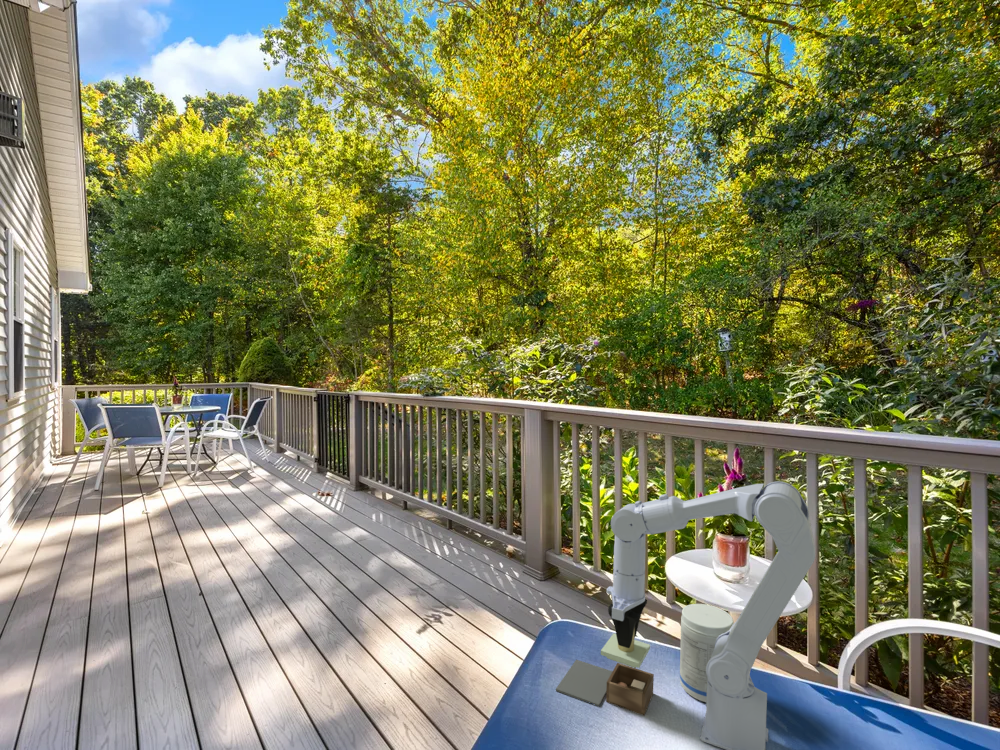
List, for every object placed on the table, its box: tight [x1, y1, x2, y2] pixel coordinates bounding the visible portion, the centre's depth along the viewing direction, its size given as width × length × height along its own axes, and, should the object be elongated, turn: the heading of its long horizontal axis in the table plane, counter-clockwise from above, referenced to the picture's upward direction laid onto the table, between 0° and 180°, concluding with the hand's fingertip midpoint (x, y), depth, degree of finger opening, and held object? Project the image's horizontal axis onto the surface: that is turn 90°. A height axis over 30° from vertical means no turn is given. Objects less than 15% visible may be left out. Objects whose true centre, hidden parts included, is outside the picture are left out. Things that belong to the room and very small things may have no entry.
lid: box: [600, 628, 651, 669], centre depth 94 cm, size 7×7×6 cm
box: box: [605, 662, 655, 717], centre depth 94 cm, size 7×7×4 cm
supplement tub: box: [679, 603, 735, 703], centre depth 96 cm, size 10×10×15 cm
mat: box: [555, 659, 613, 707], centre depth 98 cm, size 8×11×1 cm
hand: (626, 641), depth 94 cm, fingers closed on lid, 3 cm apart
